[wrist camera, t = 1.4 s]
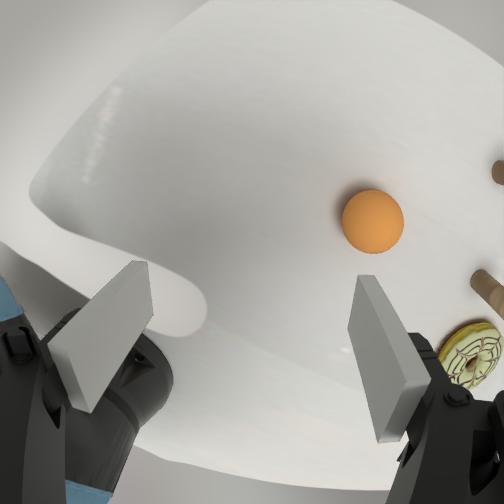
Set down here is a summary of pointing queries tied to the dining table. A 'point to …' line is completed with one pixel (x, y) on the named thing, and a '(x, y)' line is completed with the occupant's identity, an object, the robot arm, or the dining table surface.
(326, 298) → the dining table surface
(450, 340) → the decorated donut
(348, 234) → the ball
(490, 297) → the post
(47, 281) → the dining table surface
